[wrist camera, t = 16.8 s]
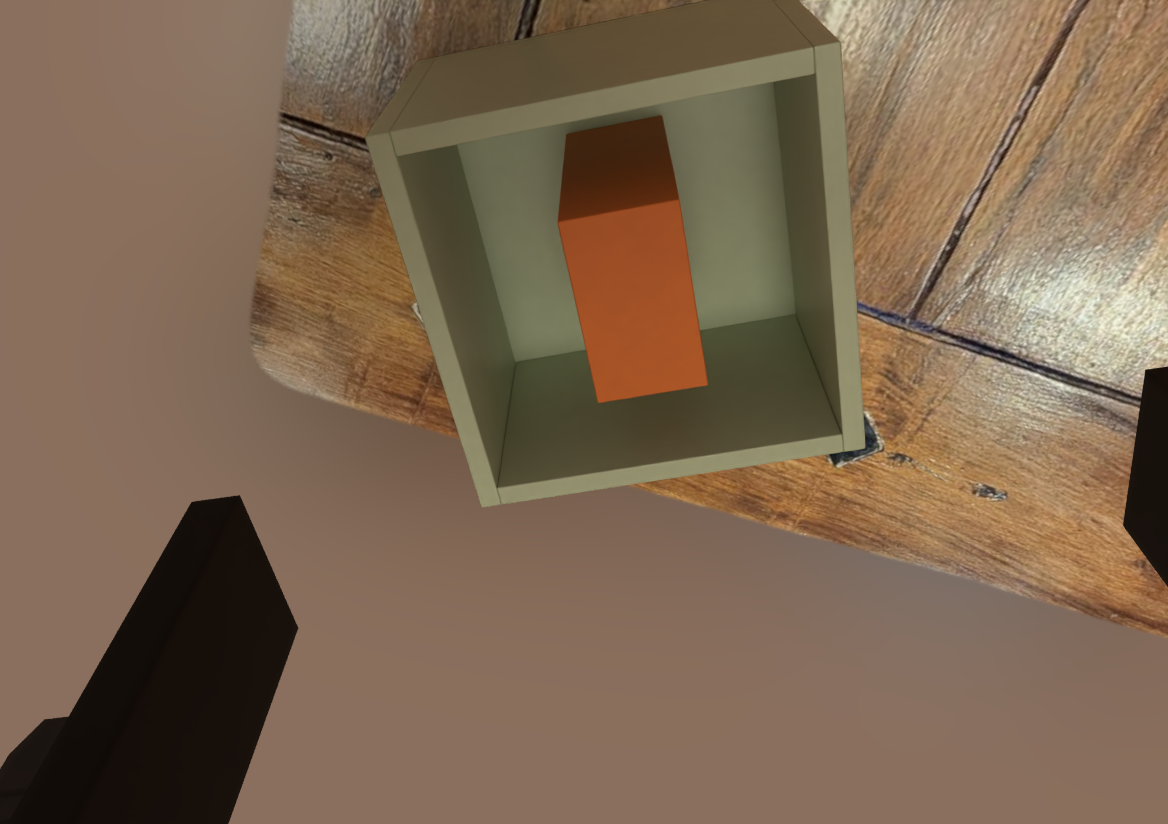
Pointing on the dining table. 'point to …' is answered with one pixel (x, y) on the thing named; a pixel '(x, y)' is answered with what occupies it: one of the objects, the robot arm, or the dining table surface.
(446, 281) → the open square bin
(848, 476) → the dining table surface
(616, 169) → the orange rectangular prism
